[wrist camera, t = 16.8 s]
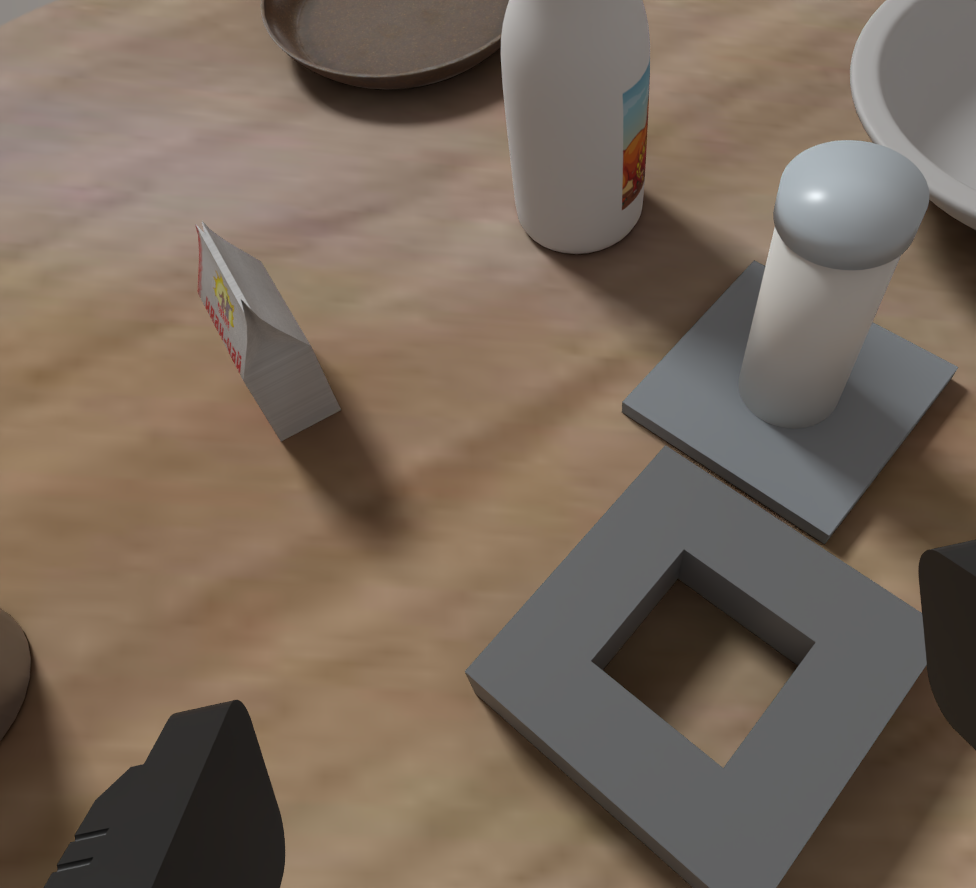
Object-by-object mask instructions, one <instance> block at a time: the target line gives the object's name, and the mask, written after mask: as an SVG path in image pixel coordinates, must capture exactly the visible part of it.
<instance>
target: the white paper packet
mask: <svg viewBox="0 0 976 888" xmlns="http://www.w3.org/2000/svg"><path fill="white" fill-rule="evenodd" d="M202 224H203V228H204V232H203V231H202V230H201V229H200V228H199V227H198V226H197V225H196V224H195V225H196V229H197V233H198V240H199V275H198V294H199V296H200V298H201V300H202V302H203V304H204V306H205V308H206V309H207V311H208V313H209V315H210V317H211V319H212V321H213V323H214V325H215V327H216V329H217V331H218V333H219V335H220V336H221V338H222V340H223V342H224V344H225V346H226V348H227V350H228V352H229V354H230V356H231V358H232V360H233V362H234V363H235V365H236V367H237V369H238V371H239V373H240V375H241V377H242V379H243V381H244V382H245V384H246V386H247V387H248V389H249V391H250V392H251V394H252V395H253V397H254V399H255V400H256V402H257V403H258V405H259V407H260V408H261V410H262V412H263V413H264V415H265V416H266V418H267V420H268V421H269V423H270V425H271V426H272V428H273V429H274V431H275V433H276V434H277V436H278V438H279V439H280V441H283V440H285V439H287V438H289V437H291V436H293V435H294V434H296V433H298V432H300V431H302V430H304V429H306V428H308V427H310V426H312V425H313V424H315V423H317V422H319V421H321V420H323V419H325V418H327V417H329V416H331V415H332V414H334V413H336V412H338V411H340V410H341V409H340V407H339V405H338V402H337V400H336V398H335V396H334V394H333V392H332V390H331V388H330V385H329V383H328V381H327V379H326V377H325V375H324V373H323V371H322V368H321V366H320V364H319V362H318V360H317V358H316V356H315V354H314V352H313V349H312V347H311V345H310V344H309V342H308V340H307V339H306V337H305V335H304V333H303V332H302V330H301V328H300V327H299V325H298V323H297V322H296V320H295V318H294V317H293V315H292V313H291V311H290V310H289V308H288V306H287V305H286V303H285V301H284V300H283V298H282V296H281V294H280V293H279V291H278V289H277V288H276V286H275V284H274V283H273V281H272V279H271V277H270V276H269V274H268V272H267V271H266V269H265V267H264V266H263V264H262V262H261V261H259V260H258V259H256V258H254V257H252V256H251V255H249V254H247V253H246V252H244V251H242V250H241V249H239V248H237V247H236V246H234V245H232V244H230V243H229V242H227V241H225V240H224V239H223V238H221V237H220V236H219V235H217V234H216V233H214V232H213V231H212V230H210V229H209V228H208V227H207V226H206V225H205V224H204V222H203V221H202Z"/></svg>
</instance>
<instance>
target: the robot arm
mask: <svg viewBox="0 0 976 888" xmlns="http://www.w3.org/2000/svg"><path fill="white" fill-rule="evenodd" d="M919 585H920V595H921V606H922V617H923V628H924V639H925V650H926V661H927V671H928V677H929V682H930V685H931V689H932V692H933V694H934V697H935V699H936V702H937V704H938V706H939V708H940V710H941V712H942V713H943V715H944V717H945V718H946V720H947V721H948V722H949V724H950V725H951V726H952V727H953V728H954V729H955V730H956V731H957V732H958V733H959V734H960V735H961V736H962V737H963V738H964V739H965V740H966V741H967V742H968V743H969V744H970V745H971V746H972V747H973V748H974V749H975V750H976V540H972V541H967V542H963V543H958V544H954V545H949V546H944V547H940V548H935V549H931V550H927V551H925V552H924V553H923V554H922V556H921V558H920V562H919ZM30 665H31V657H30V651H29V646H28V641H27V639H26V637H25V635H24V632H23V630H22V628H21V626H20V625H19V624H18V623H17V622H16V621H15V619H14V618H13V617H12V616H11V615H10V614H8V613H6V612H5V611H3V610H2V609H0V740H1V739H2V738H3V737H4V735H5V734H6V732H7V731H8V729H9V728H10V726H11V725H12V723H13V722H14V720H15V718H16V716H17V714H18V712H19V710H20V707H21V705H22V703H23V701H24V699H25V695H26V691H27V687H28V683H29V679H30ZM284 865H285V838H284V830H283V823H282V819H281V814H280V811H279V807H278V804H277V801H276V798H275V795H274V791H273V788H272V785H271V782H270V779H269V776H268V772H267V769H266V766H265V763H264V760H263V756H262V753H261V750H260V747H259V744H258V740H257V737H256V734H255V731H254V728H253V724H252V721H251V718H250V716H249V713H248V711H247V709H246V707H245V706H244V704H243V703H242V702H241V701H239V700H233V701H229V702H224V703H220V704H215V705H210V706H206V707H201V708H197V709H192V710H188V711H183V712H178V713H175V714H173V715H171V716H170V718H169V719H168V721H167V723H166V724H165V726H164V728H163V730H162V732H161V734H160V736H159V737H158V739H157V741H156V743H155V745H154V747H153V748H152V750H151V752H150V754H149V756H148V758H147V759H146V761H145V763H144V764H143V765H138V766H134V767H130V768H129V769H128V770H127V771H126V772H125V773H124V774H123V775H122V776H121V777H120V778H119V779H118V780H117V781H116V782H114V783H113V784H112V785H111V786H110V787H109V788H108V789H107V790H106V791H105V792H104V793H103V794H102V795H101V796H100V797H98V798H97V799H96V800H95V802H94V804H93V805H92V807H91V809H90V810H89V812H88V814H87V815H86V817H85V819H84V820H83V822H82V824H81V825H80V827H79V829H78V830H77V832H76V834H75V841H74V842H70V844H69V846H68V847H67V849H66V851H65V852H64V854H63V856H62V857H61V859H60V861H59V863H58V864H57V867H58V870H57V872H54V873H52V874H51V876H50V878H49V879H48V881H47V883H46V884H45V886H44V888H280V885H281V881H282V877H283V872H284Z"/></svg>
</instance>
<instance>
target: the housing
mask: <svg viewBox="0 0 976 888" xmlns="http://www.w3.org/2000/svg"><path fill="white" fill-rule="evenodd" d="M677 579H679V580H681V581H682V582H683V583H685V584H686V585H687V586H689V587H690V588H692V589H693V590H694V591H696V592H697V593H698V594H700V595H701V596H703V597H704V598H705V599H707V600H708V601H709V602H711V603H712V604H714V605H715V606H716V607H718V608H719V609H721V610H722V611H723V612H725V613H726V614H727V615H729V616H730V617H732V618H733V619H734V620H736V621H737V622H738V623H740V624H741V625H743V626H744V627H745V628H747V629H748V630H749V631H751V632H752V633H754V634H755V635H756V636H758V637H759V638H761V639H762V640H763V641H765V642H766V643H767V644H769V645H770V646H772V647H773V648H774V649H776V650H777V651H778V652H780V653H781V654H783V655H784V656H785V657H787V658H788V659H789V660H791V661H792V662H794V663H795V664H796V665H798V667H797V669H796V670H795V671H794V673H793V674H792V675H791V677H790V678H789V679H788V681H787V682H786V683H785V685H784V686H783V688H782V689H781V690H780V692H779V693H778V694H777V696H776V697H775V698H774V700H773V701H772V703H771V704H770V705H769V707H768V708H767V709H766V711H765V712H764V713H763V715H762V716H761V718H760V719H759V720H758V722H757V723H756V724H755V726H754V727H753V728H752V730H751V731H750V733H749V734H748V735H747V737H746V738H745V739H744V741H743V742H742V743H741V745H740V746H739V748H738V749H737V750H736V752H735V753H734V754H733V756H732V757H731V758H730V760H729V761H728V763H727V764H726V765H725V767H724V768H722V767H721V766H720V765H719V764H717V763H716V762H715V761H714V760H712V759H711V758H710V757H709V756H707V755H706V754H705V753H704V752H703V751H701V750H700V749H699V748H698V747H696V746H695V745H694V744H693V743H691V742H690V741H689V740H688V739H687V738H685V737H684V736H683V735H682V734H680V733H679V732H678V731H677V730H675V729H674V728H673V727H672V726H670V725H669V724H668V723H667V722H666V721H664V720H663V719H662V718H661V717H659V716H658V715H657V714H656V713H654V712H653V711H652V710H651V709H650V708H648V707H647V706H646V705H645V704H643V703H642V702H641V701H640V700H638V699H637V698H636V697H635V696H633V695H632V694H631V693H630V692H629V691H627V690H626V689H625V688H624V687H622V686H621V685H620V684H619V683H617V682H616V681H615V680H614V679H613V678H611V677H610V676H609V675H608V674H606V673H605V672H604V671H603V669H604V668H605V667H606V665H607V664H608V663H609V662H610V661H611V659H612V658H613V657H614V656H615V655H616V653H617V652H618V651H619V650H620V648H621V647H622V646H623V645H624V644H625V642H626V641H627V640H628V639H629V638H630V636H631V635H632V634H633V633H634V631H635V630H636V629H637V628H638V627H639V625H640V624H641V623H642V622H643V621H644V619H645V618H646V617H647V616H648V614H649V613H650V612H651V611H652V610H653V608H654V607H655V606H656V605H657V604H658V602H659V601H660V600H661V599H662V597H663V596H664V595H665V594H666V593H667V591H668V590H669V589H670V588H671V587H672V585H673V584H674V583H675V582H676V580H677ZM926 665H927V661H926V650H925V639H924V628H923V617H922V613H921V612H919V611H918V610H916V609H915V608H913V607H912V606H910V605H909V604H907V603H905V602H904V601H902V600H901V599H899V598H898V597H896V596H895V595H893V594H892V593H890V592H889V591H887V590H886V589H884V588H883V587H881V586H879V585H878V584H876V583H875V582H873V581H872V580H870V579H869V578H867V577H866V576H864V575H863V574H861V573H860V572H858V571H857V570H855V569H854V568H852V567H850V566H849V565H847V564H846V563H844V562H843V561H841V560H840V559H838V558H837V557H835V556H834V555H832V554H831V553H829V552H828V551H826V550H824V549H823V548H821V547H820V546H818V545H817V544H815V543H814V542H812V541H811V540H809V539H808V538H806V537H805V536H803V535H802V534H800V533H799V532H797V531H795V530H794V529H792V528H791V527H789V526H788V525H786V524H785V523H783V522H782V521H780V520H779V519H777V518H776V517H774V516H773V515H771V514H769V513H768V512H766V511H765V510H763V509H762V508H760V507H759V506H757V505H756V504H754V503H753V502H751V501H750V500H748V499H747V498H745V497H744V496H742V495H740V494H739V493H737V492H736V491H734V490H733V489H731V488H730V487H728V486H727V485H725V484H724V483H722V482H721V481H719V480H718V479H716V478H714V477H713V476H711V475H710V474H708V473H707V472H705V471H704V470H702V469H701V468H699V467H698V466H696V465H695V464H693V463H692V462H690V461H689V460H687V459H685V458H684V457H682V456H681V455H679V454H678V453H676V452H675V451H673V450H672V449H670V448H669V447H667V446H666V445H665V446H664V447H663V449H662V450H661V451H660V452H659V453H658V454H657V455H656V456H655V458H654V459H653V460H652V461H651V462H650V463H649V464H648V465H647V467H646V468H645V469H644V470H643V471H642V472H641V473H640V474H639V476H638V477H637V478H636V479H635V480H634V481H633V482H632V483H631V485H630V486H629V487H628V488H627V489H626V490H625V491H624V493H623V494H622V495H621V496H620V497H619V498H618V499H617V500H616V502H615V503H614V504H613V505H612V506H611V507H610V508H609V509H608V511H607V512H606V513H605V514H604V515H603V516H602V517H601V518H600V520H599V521H598V522H597V523H596V524H595V525H594V526H593V527H592V529H591V530H590V531H589V532H588V533H587V534H586V535H585V536H584V538H583V539H582V540H581V541H580V542H579V543H578V544H577V545H576V547H575V548H574V549H573V550H572V551H571V552H570V553H569V554H568V556H567V557H566V558H565V559H564V560H563V561H562V562H561V563H560V565H559V566H558V567H557V568H556V569H555V570H554V571H553V573H552V574H551V575H550V576H549V577H548V578H547V579H546V580H545V582H544V583H543V584H542V585H541V586H540V587H539V588H538V589H537V591H536V592H535V593H534V594H533V595H532V596H531V597H530V598H529V600H528V601H527V602H526V603H525V604H524V605H523V606H522V607H521V609H520V610H519V611H518V612H517V613H516V614H515V615H514V616H513V618H512V619H511V620H510V621H509V622H508V623H507V624H506V625H505V627H504V628H503V629H502V630H501V631H500V632H499V633H498V634H497V636H496V637H495V638H494V639H493V640H492V641H491V642H490V644H489V645H488V646H487V647H486V648H485V649H484V650H483V651H482V653H481V654H480V655H479V656H478V657H477V658H476V659H475V660H474V662H473V663H472V664H471V665H470V666H469V667H468V668H467V669H466V671H465V673H466V675H467V677H468V680H469V682H470V684H471V686H472V688H473V690H474V692H475V694H477V695H478V696H479V697H480V698H481V699H482V700H483V701H484V702H486V703H487V704H488V705H489V706H490V707H491V708H492V709H493V710H495V711H496V712H497V713H498V714H499V715H500V716H501V717H502V718H504V719H505V720H506V721H507V722H508V723H509V724H510V725H511V726H513V727H514V728H515V729H516V730H517V731H518V732H519V733H520V734H521V735H523V736H524V737H525V738H526V739H527V740H528V741H529V742H530V743H532V744H533V745H534V746H535V747H536V748H537V749H538V750H539V751H541V752H542V753H543V754H544V755H545V756H546V757H547V758H548V759H550V760H551V761H552V762H553V763H554V764H555V765H556V766H557V767H559V768H560V769H561V770H562V771H563V772H564V773H565V774H566V775H567V776H569V777H570V778H571V779H572V780H573V781H574V782H575V783H576V784H578V785H579V786H580V787H581V788H582V789H583V790H584V791H585V792H587V793H588V794H589V795H590V796H591V797H592V798H593V799H594V800H596V801H597V802H598V803H599V804H600V805H601V806H602V807H603V808H605V809H606V810H607V811H608V812H609V813H610V814H611V815H612V816H614V817H615V818H616V819H617V820H618V821H619V822H620V823H621V824H622V825H624V826H625V827H626V828H627V829H628V830H629V831H630V832H631V833H633V834H634V835H635V836H636V837H637V838H638V839H639V840H640V841H642V842H643V843H644V844H645V845H646V846H647V847H648V848H649V849H651V850H652V851H653V852H654V853H655V854H656V855H657V856H658V857H660V858H661V859H662V860H663V861H664V862H665V863H666V864H667V865H669V866H670V867H671V868H672V869H673V870H674V871H675V872H676V873H677V874H679V875H680V876H681V877H682V878H683V879H684V880H685V881H686V882H688V883H689V884H690V885H691V886H692V887H693V888H776V887H777V886H778V884H779V883H780V881H781V880H782V878H783V877H784V875H785V874H786V872H787V871H788V869H789V868H790V866H791V865H792V863H793V862H794V861H795V859H796V858H797V856H798V855H799V853H800V852H801V850H802V849H803V847H804V846H805V844H806V843H807V841H808V840H809V838H810V837H811V835H812V834H813V832H814V831H815V829H816V828H817V826H818V825H819V823H820V822H821V820H822V819H823V817H824V816H825V815H826V813H827V812H828V810H829V809H830V807H831V806H832V804H833V803H834V801H835V800H836V798H837V797H838V795H839V794H840V792H841V791H842V789H843V788H844V786H845V785H846V783H847V782H848V780H849V779H850V777H851V776H852V774H853V773H854V772H855V770H856V769H857V767H858V766H859V764H860V763H861V761H862V760H863V758H864V757H865V755H866V754H867V752H868V751H869V749H870V748H871V746H872V745H873V743H874V742H875V740H876V739H877V737H878V736H879V734H880V733H881V731H882V730H883V729H884V727H885V726H886V724H887V723H888V721H889V720H890V718H891V717H892V715H893V714H894V712H895V711H896V709H897V708H898V706H899V705H900V703H901V702H902V700H903V699H904V697H905V696H906V694H907V693H908V691H909V690H910V688H911V687H912V686H913V684H914V683H915V681H916V680H917V678H918V677H919V675H920V674H921V672H922V671H923V669H924V668H925V666H926Z"/></svg>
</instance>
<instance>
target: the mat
mask: <svg viewBox="0 0 976 888" xmlns="http://www.w3.org/2000/svg"><path fill="white" fill-rule="evenodd" d="M764 271H765V266H764V265H762V264H760V263H758V262H756V261H753V262H752V263H751V264H750V265H749V266H748V268H747V269H746V270H745V271H744V272H743V273H742V274H741V275H740V276H739V277H738V278H737V279H736V280H735V282H734V283H733V284H732V285H731V286H730V287H729V288H728V289H727V290H726V291H725V292H724V293H723V294H722V295H721V297H720V298H719V299H718V300H717V301H716V302H715V303H714V304H713V305H712V306H711V307H710V308H709V309H708V311H707V312H706V313H705V314H704V315H703V316H702V317H701V318H700V319H699V320H698V321H697V322H696V323H695V324H694V326H693V327H692V328H691V329H690V330H689V331H688V332H687V333H686V334H685V335H684V336H683V337H682V338H681V340H680V341H679V342H678V343H677V344H676V345H675V346H674V347H673V348H672V349H671V350H670V351H669V352H668V353H667V355H666V356H665V357H664V358H663V359H662V360H661V361H660V362H659V363H658V364H657V365H656V366H655V367H654V369H653V370H652V371H651V372H650V373H649V374H648V375H647V376H646V377H645V378H644V379H643V380H642V381H641V382H640V384H639V385H638V386H637V387H636V388H635V389H634V390H633V391H632V392H631V393H630V394H629V395H628V396H627V398H626V399H625V400H624V401H623V402H622V413H624V414H626V415H627V416H629V417H630V418H632V419H633V420H635V421H636V422H638V423H639V424H641V425H642V426H644V427H645V428H647V429H649V430H650V431H652V432H653V433H655V434H656V435H658V436H659V437H661V438H662V439H664V440H665V441H667V442H668V443H670V444H672V445H673V446H675V447H676V448H678V449H679V450H681V451H682V452H684V453H685V454H687V455H688V456H690V457H691V458H693V459H695V460H696V461H698V462H699V463H701V464H702V465H704V466H705V467H707V468H708V469H710V470H711V471H713V472H715V473H716V474H718V475H719V476H721V477H722V478H724V479H725V480H727V481H728V482H730V483H731V484H733V485H734V486H736V487H738V488H739V489H741V490H742V491H744V492H745V493H747V494H748V495H750V496H751V497H753V498H754V499H756V500H757V501H759V502H761V503H762V504H764V505H765V506H767V507H768V508H770V509H771V510H773V511H774V512H776V513H777V514H779V515H780V516H782V517H784V518H785V519H787V520H788V521H790V522H791V523H793V524H794V525H796V526H797V527H799V528H800V529H802V530H803V531H805V532H807V533H808V534H810V535H811V536H813V537H814V538H816V539H817V540H819V541H820V542H822V543H823V544H825V543H826V542H827V541H828V539H829V538H830V537H831V535H832V534H833V533H834V531H835V530H836V529H837V528H838V526H839V525H840V524H841V522H842V521H843V520H844V518H845V517H846V516H847V514H848V513H849V512H850V511H851V509H852V508H853V507H854V505H855V504H856V503H857V501H858V500H859V499H860V497H861V496H862V495H863V494H864V492H865V491H866V490H867V488H868V487H869V486H870V484H871V483H872V482H873V480H874V479H875V478H876V477H877V475H878V474H879V473H880V471H881V470H882V469H883V467H884V466H885V465H886V463H887V462H888V461H889V460H890V458H891V457H892V456H893V454H894V453H895V452H896V450H897V449H898V448H899V447H900V445H901V444H902V443H903V441H904V440H905V439H906V437H907V436H908V435H909V433H910V432H911V431H912V430H913V428H914V427H915V426H916V424H917V423H918V422H919V420H920V419H921V418H922V416H923V415H924V414H925V413H926V411H927V410H928V409H929V407H930V406H931V405H932V403H933V402H934V401H935V399H936V398H937V397H938V396H939V394H940V393H941V392H942V390H943V389H944V388H945V386H946V385H947V384H948V382H949V381H950V380H951V379H952V377H953V375H954V374H955V372H956V370H957V369H958V367H957V366H955V365H953V364H951V363H949V362H947V361H946V360H944V359H942V358H940V357H938V356H936V355H934V354H932V353H930V352H928V351H926V350H925V349H923V348H921V347H919V346H917V345H915V344H913V343H911V342H909V341H907V340H905V339H903V338H902V337H900V336H898V335H896V334H894V333H892V332H890V331H888V330H886V329H884V328H882V327H881V326H879V325H877V324H875V323H873V322H872V324H871V327H870V329H869V331H868V334H867V336H866V338H865V341H864V343H863V345H862V348H861V350H860V352H859V355H858V357H857V359H856V362H855V364H854V366H853V369H852V371H851V373H850V376H849V378H848V380H847V383H846V385H845V387H844V390H843V392H842V394H841V397H840V399H839V401H838V404H837V406H836V408H835V409H834V411H833V412H832V413H831V414H830V415H829V416H828V417H827V418H826V419H825V420H823V421H821V422H820V423H818V424H815V425H813V426H809V427H805V428H795V429H792V428H783V427H778V426H774V425H772V424H769V423H767V422H765V421H763V420H761V419H760V418H758V417H757V416H755V415H754V414H753V413H752V412H751V411H750V410H749V409H748V408H747V407H746V405H745V404H744V402H743V400H742V398H741V396H740V393H739V387H738V381H739V376H740V371H741V367H742V363H743V359H744V355H745V350H746V346H747V342H748V338H749V334H750V329H751V325H752V321H753V317H754V313H755V308H756V304H757V300H758V296H759V292H760V287H761V283H762V279H763V275H764Z"/></svg>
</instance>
